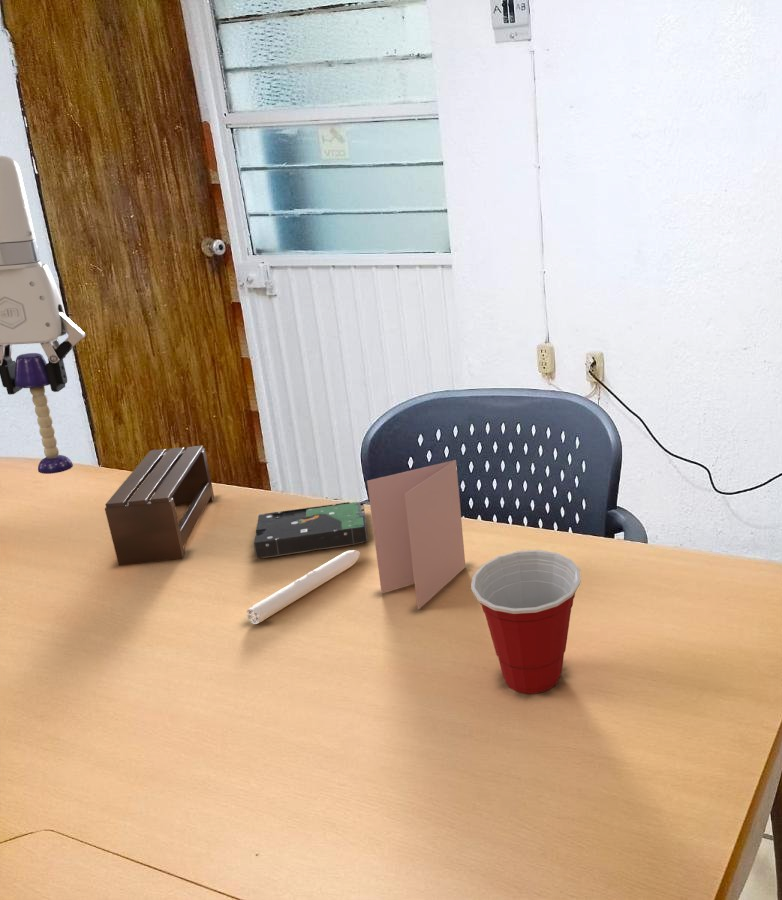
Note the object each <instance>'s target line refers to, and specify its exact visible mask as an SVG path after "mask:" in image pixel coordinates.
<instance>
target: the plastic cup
mask: <svg viewBox="0 0 782 900" xmlns="http://www.w3.org/2000/svg"><path fill="white" fill-rule="evenodd" d="M581 576H582V575H581V569H580V567H579V566H578V565H577V564H576V563H575V562H574V561H573V560H572V559H571V558H569V557H567V556H565V555H563V554H561V553H558V552H556V551H547V550H541V549H527V550H515V551H512V552H509V553H504V554H501V555H497V556H495V557H493V558H492V559H490V560H489V561H487V562H485V563H483V564H482V565H481V566H480V567H479V568H478V569H477V570H476V571H475V572H474V574H473V575H472V577H471V584H470V589H471V591H472V594H473V595H474V596H475V598H476V599H477V601H478V602H479V604H480V605H481V608H482V611H483V613H484V615H485V618H486V623H487V626H488V630H489V633H490V637H491V640H492V645H493V647H494V650H495V655H496V656H497V659H498V662H499V667H500V669H501V673H502V678H503V679H504V681H505V683H506V685H507V686H508V688H509V689H511V690H513V691H515V692H518V693H521V694H527V695H528V694H540V693H542V692H543V693H544V692H546V691H549V690H550V689H552V688H553V687H555V686H556V685H557V684H558V683H559V680H561V675H562V672H563V665H564V659H565V658H564V657H565V652H566V650H567V642H568V635H569V629H570V628H569V627H570V621H571V613H572V608H573V605H574V599H575V596H576V592H577V590H578V589H579V587H580V586H581V582H582V579H581V578H582V577H581Z"/></svg>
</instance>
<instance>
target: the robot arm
mask: <svg viewBox="0 0 782 900" xmlns="http://www.w3.org/2000/svg"><path fill="white" fill-rule="evenodd" d="M65 335H67V338H65V340H63V341H62V342H60V340H59V337H62V336H65ZM85 337H86V333H85V332H84V331H83V330H82V329H81V328H80V327H79V326H78V325H77V324H75V323H74V322H73V321H72V320H71V319H70V318H69V316H67V314H66V311H65V307H64V303H63V300H62V297H61V294H60V291H59V289H58V286H57V284H56V281H55V279H54V277H53V274H52V272H51V270H50V268H49V266H48V264H47V263H42V261H41V255H40V252H39V248H38V243H37V239H36V233H35V230H34V224H33V221H32V216H31V212H30V208H29V202H28V198H27V194H26V190H25V186H24V181H23V176H22V172H21V169H20V166H19V164H18V163H17V162H16V161H15V159H14V158H12V157H9V156H7V155H0V380H1V385H2V387H3V388H5V389H6V392H7V395H10V396H11V395H15V394H16V393H19V391H21V390H23V388H19V387H17V386H15V383H14V379H15V365H16V360H13V358H12V347H13V346H12V345H27V344H28V345H29V344H30V345H33V344H40V346H41V348H42V350H43V352H44V354H45V356H46V357H47V361H48V362H46V363H47V364H46V369H47V374H48V378H49V382H50V385H49V386H50V390H51V392H53V393H59V392H60V391H61V390H63V389H64V388H66V384H67V383H68V376H67V371H66V367H65V363H64V359H65V358H66V356H67V355H68V354H69V353H70V352H71V350H72V349H73V348H74V347H75V346H76V345H77V344H79V343H80V342H81V341H82V340H83V339H85Z"/></svg>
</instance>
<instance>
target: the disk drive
mask: <svg viewBox="0 0 782 900" xmlns="http://www.w3.org/2000/svg"><path fill="white" fill-rule="evenodd" d="M366 520H367V518H366V511H365V504H364V502H363V501H351V502H350V501H348V502H347V501H346V502H340V503H335V504H326V505H319V506H312V507H304V508H297V509H296V508H295V509H288V510H283V511H272V512H267V513H262V514H259V515H258V517H257V523H256V527H255V528H256V529H255V536H254V539H253V547H254V552H255V556H256V558H257V559H260V558H263V559H266V558H272V557H279V556H286V555H291V554H292V555H293V554H300V553H305V552H311V551H315V550H316V551H318V550H325V549H332V548H341V547H346V546H351V545H358V544H363V543H366V542H369V537H368V528H367V521H366Z"/></svg>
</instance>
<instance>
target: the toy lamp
mask: <svg viewBox="0 0 782 900" xmlns="http://www.w3.org/2000/svg"><path fill="white" fill-rule="evenodd" d="M15 362H16V365H15V379H14V383H15V386H17V387H19V388H22V389H29V392H30V394H31V395H32V396H31V397H32V399H31V401H32V403H33V405H34V413H35V415H36V417H37V418H36V422H37V425H38V426H39V434H40V437H42V438H41V444H42V446H43V447H44V448H43V453H44V456H45V457H44V458H42V459H41V460H40V461H39V463H38V465H37V471H38V473H40V474H43V475H44V474H45V475H50V474H52V475H53V474H58V473H63V472H65V471H66V472H67V471H68V470H71V469H72V468H73V467H74V464H73V462H72V460H71V458H69V457H68V456H66V455H63V454H60V451H59V448H58V446H57V438H56V436H55V428H54V426H53V418H52V416H51V415H50V414H51V409H50V406H49V405H48V402H49V401H48V397H47V395H46V394H45V393H46V388H45V387H47V386H50V382H49V378H48V374H47V369H46V364H47V363H48V362H47V361H46V360H45V357H44V355H42V354H41V353H38V352H29V353H28V352H27V353H22V354H19V355H17V356H16V358H15Z"/></svg>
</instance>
